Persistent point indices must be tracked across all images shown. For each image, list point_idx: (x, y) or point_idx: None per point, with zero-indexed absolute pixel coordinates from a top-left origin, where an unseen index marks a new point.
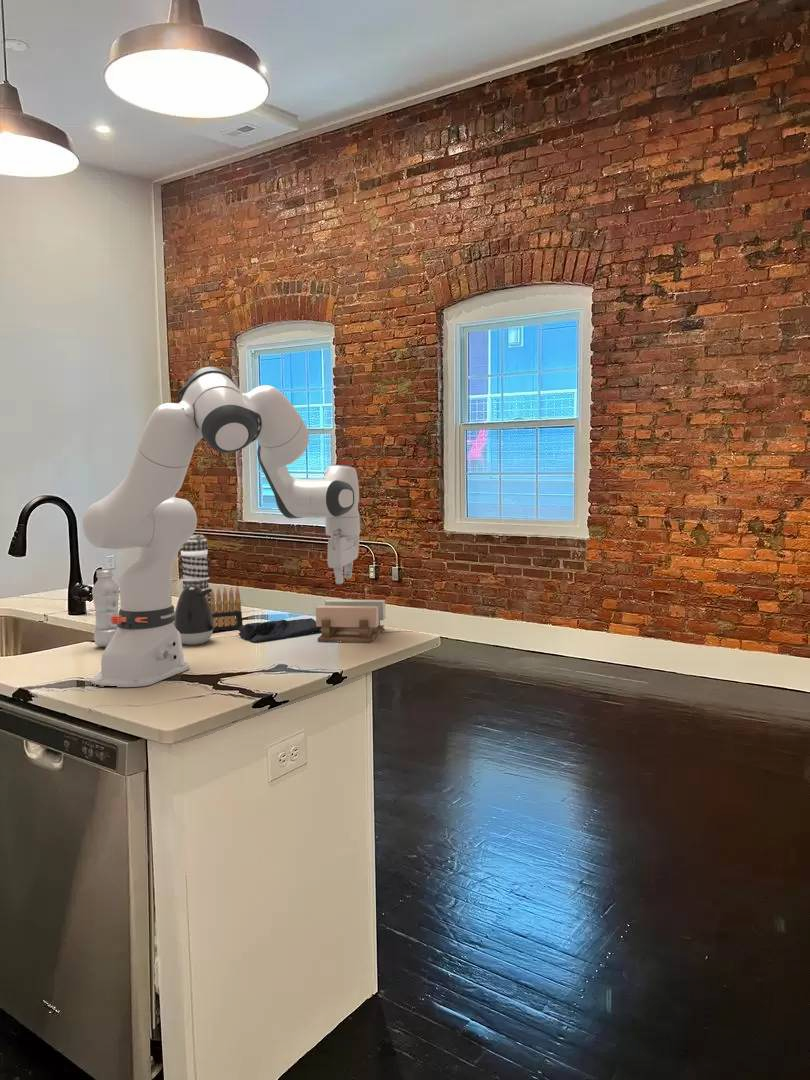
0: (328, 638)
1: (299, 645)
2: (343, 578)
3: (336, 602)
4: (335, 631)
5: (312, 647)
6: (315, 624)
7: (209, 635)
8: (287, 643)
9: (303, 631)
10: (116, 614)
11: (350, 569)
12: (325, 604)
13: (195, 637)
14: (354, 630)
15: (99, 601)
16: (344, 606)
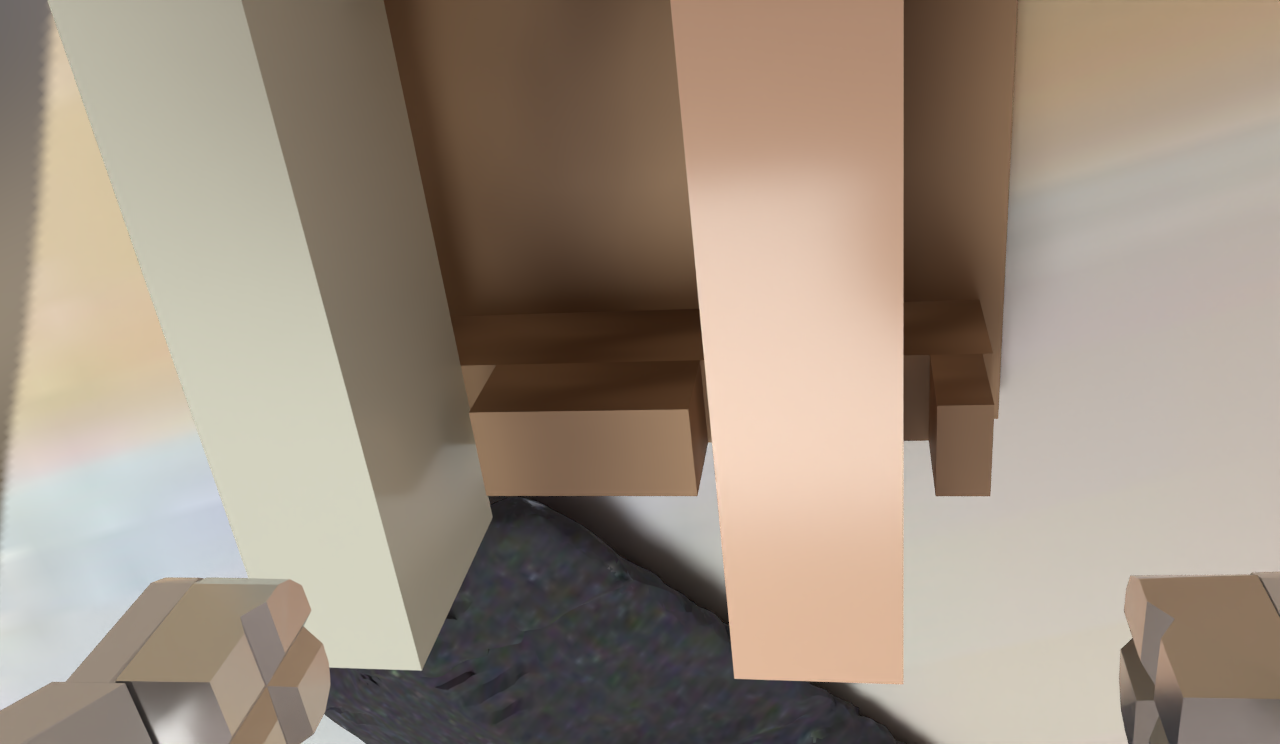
0: (1002, 301)
1: (1159, 520)
2: (1179, 648)
3: (392, 527)
4: (696, 315)
5: (1268, 376)
6: (543, 576)
7: None
8: (1065, 638)
9: (711, 617)
10: None
11: (83, 738)
12: (436, 636)
13: None
14: (532, 127)
15: None
16: (767, 322)
